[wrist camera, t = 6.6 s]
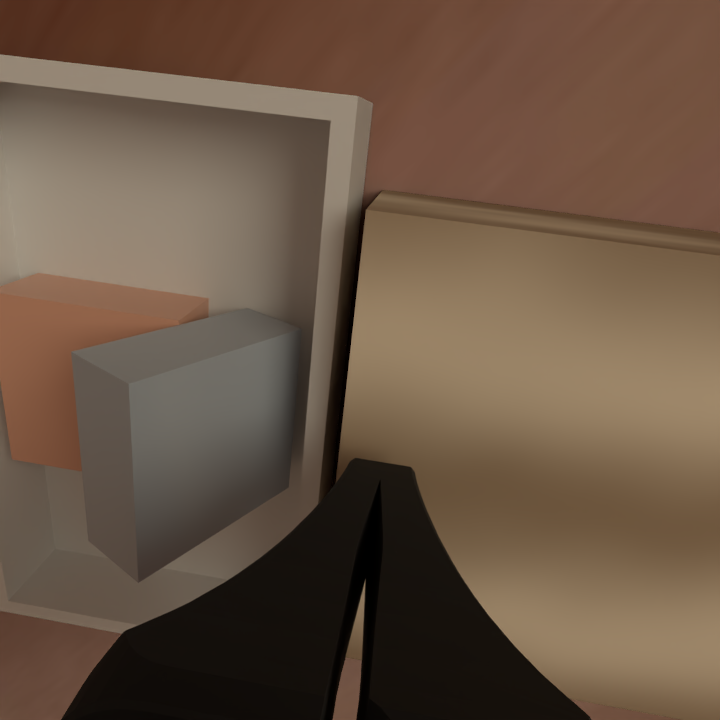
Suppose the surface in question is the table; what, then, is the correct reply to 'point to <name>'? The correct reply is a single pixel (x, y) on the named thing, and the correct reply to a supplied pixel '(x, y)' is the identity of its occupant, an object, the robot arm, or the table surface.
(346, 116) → the box
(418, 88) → the table surface
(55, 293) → the terracotta tile
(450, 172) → the table surface
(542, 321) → the board
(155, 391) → the slate tile
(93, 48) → the table surface
